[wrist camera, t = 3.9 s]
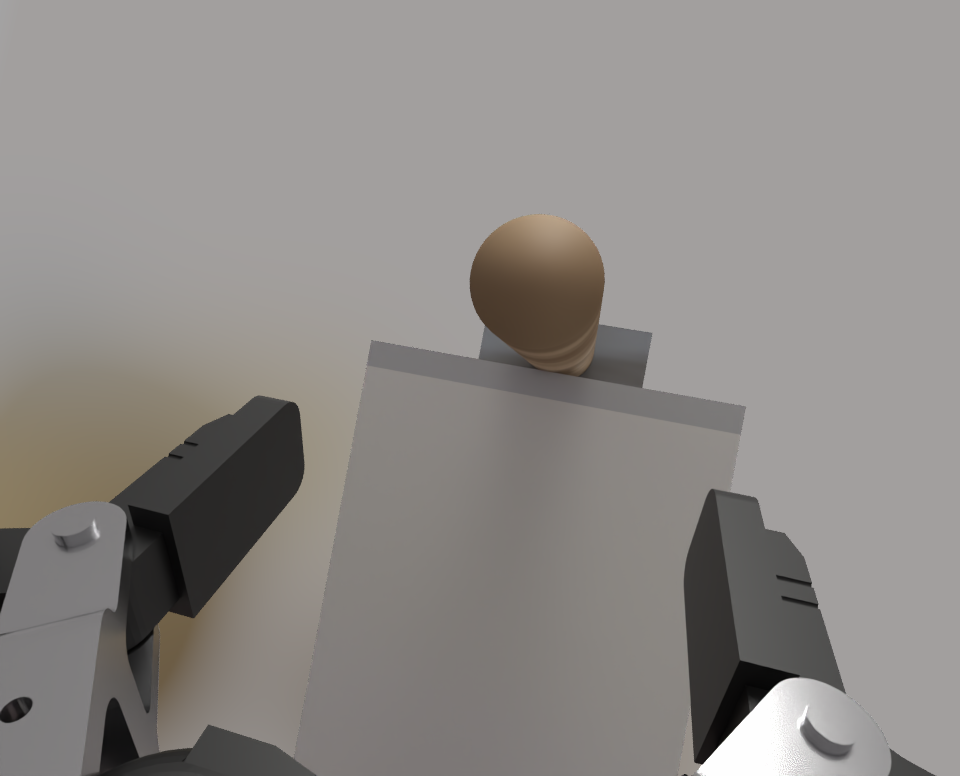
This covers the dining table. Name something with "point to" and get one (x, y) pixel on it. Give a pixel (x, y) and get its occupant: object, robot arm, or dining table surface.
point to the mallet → (551, 304)
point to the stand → (510, 573)
